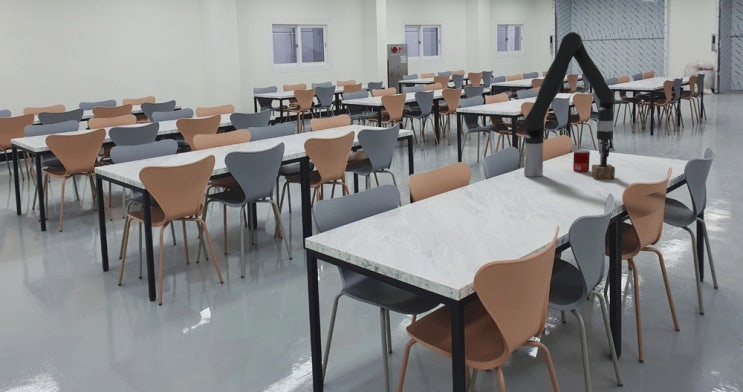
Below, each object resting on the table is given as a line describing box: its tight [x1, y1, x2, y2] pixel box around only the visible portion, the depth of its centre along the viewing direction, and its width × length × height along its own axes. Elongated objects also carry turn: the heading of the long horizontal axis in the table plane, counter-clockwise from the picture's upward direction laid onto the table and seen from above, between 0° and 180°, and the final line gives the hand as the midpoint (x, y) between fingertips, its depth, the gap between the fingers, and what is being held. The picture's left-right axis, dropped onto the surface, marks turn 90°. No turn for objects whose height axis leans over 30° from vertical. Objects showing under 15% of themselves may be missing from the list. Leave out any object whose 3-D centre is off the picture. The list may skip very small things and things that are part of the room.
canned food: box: [572, 149, 591, 173], centre depth 343 cm, size 8×8×11 cm
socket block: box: [591, 163, 616, 181], centre depth 325 cm, size 9×9×6 cm
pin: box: [599, 150, 608, 167], centre depth 324 cm, size 3×3×12 cm
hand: (603, 163), depth 324 cm, fingers closed on pin, 3 cm apart
